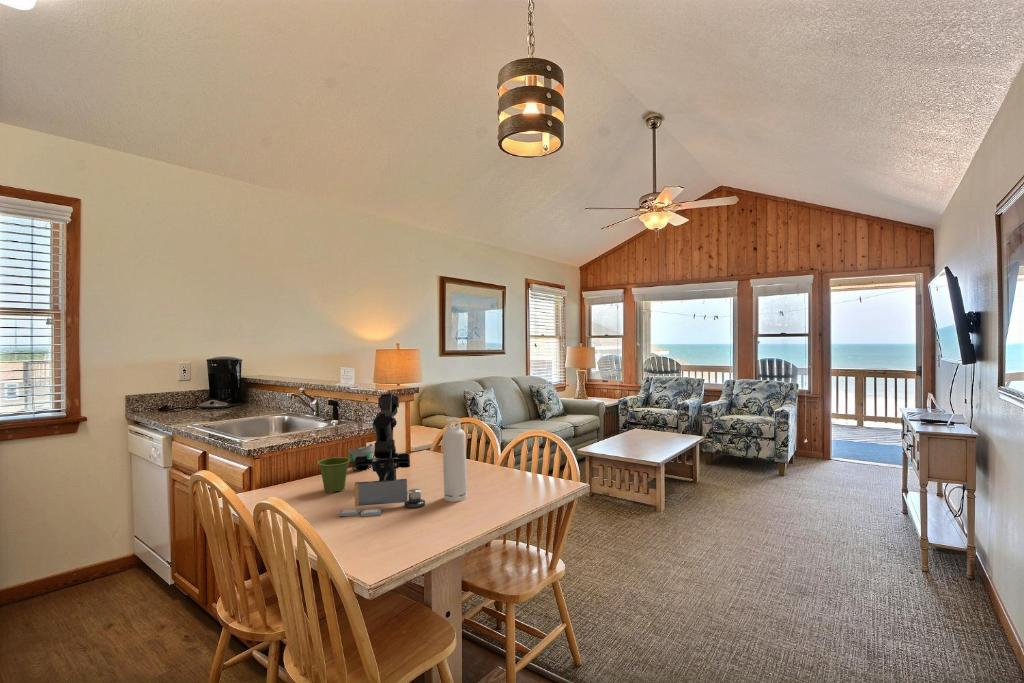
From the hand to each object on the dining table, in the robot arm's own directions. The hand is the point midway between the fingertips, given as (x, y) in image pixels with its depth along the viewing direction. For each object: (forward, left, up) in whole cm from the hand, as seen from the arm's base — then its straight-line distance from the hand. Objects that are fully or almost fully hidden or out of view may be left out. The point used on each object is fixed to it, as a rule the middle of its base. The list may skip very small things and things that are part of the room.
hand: (382, 483), depth 171 cm
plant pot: (-6, -29, -8) cm, 31 cm away
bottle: (-17, +19, -8) cm, 26 cm away
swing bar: (+1, +3, -6) cm, 7 cm away
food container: (-34, -41, -8) cm, 54 cm away
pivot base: (-5, +10, -8) cm, 14 cm away
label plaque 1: (+11, -4, -8) cm, 14 cm away
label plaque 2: (+8, +3, -8) cm, 11 cm away
